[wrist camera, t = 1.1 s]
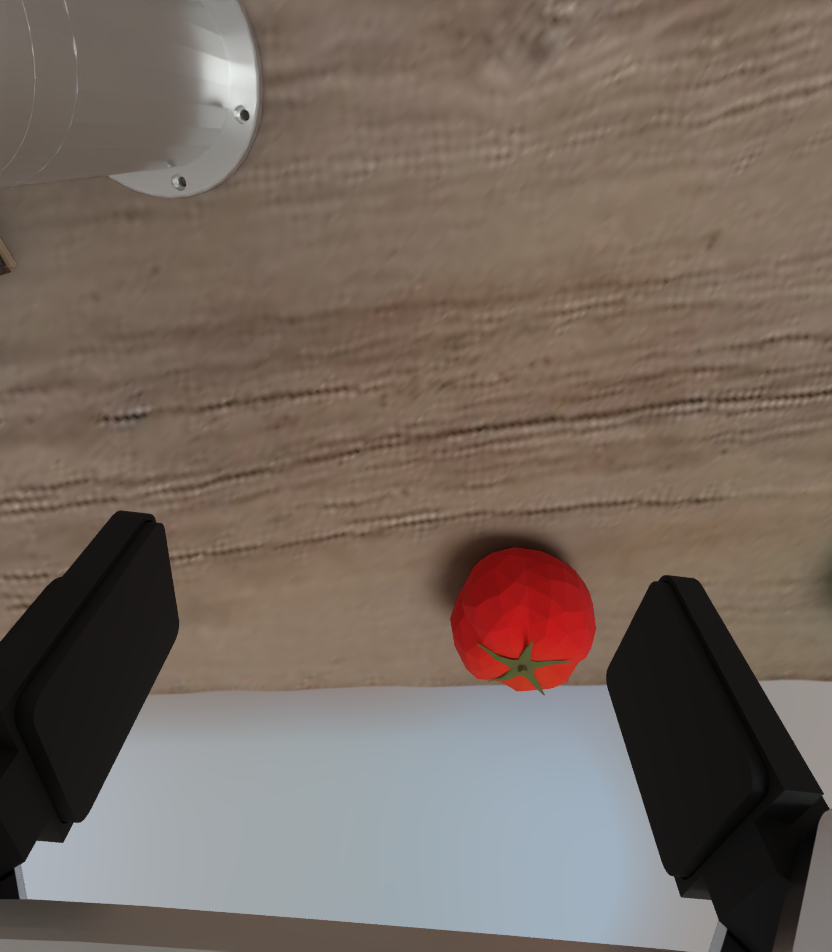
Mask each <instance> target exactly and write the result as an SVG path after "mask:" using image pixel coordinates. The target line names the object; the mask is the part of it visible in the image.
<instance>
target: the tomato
mask: <svg viewBox="0 0 832 952" xmlns="http://www.w3.org/2000/svg"><path fill="white" fill-rule="evenodd" d="M450 620H451V626H452V632H453V639H454V645H455V647H456V649H457V651H458V653H459V655H460V657H461V659H462V661H463V663H464V665H465V667H466V669H467V670H468V671H469V672H470V673H471V674H473V675H474V676H475V677H476V678H477V679H482V680H490V681H500V682H502V683H504V684H505V685H507V686H509V687H511V688H513V689H514V690H516V691H530V690H539V691H540V692H541V693H542V694H543V695H545V694H544V692H543V690H542V689H550V688H554V687H556V686H559V685H561V684H563V683H566V682H567V681H568V679H569V677H570V676H571V674H572V672H573V671H574V669H575V667H576V666H577V664H578V662H580V661H581V660H583V659H585V658H586V657H587V655H588V653H589V651H590V649H591V647H592V643H593V639H594V635H595V631H596V625H595V617H594V610H593V603H592V599H591V596H590V593H589V591H588V589H587V587H586V585H585V583H584V582H583V580H582V579H581V578H580V576H579V575H578V574H577V572H576V571H575V570H574V569H573V568H572V567H571V566H570V565H568V564H566V563H564V562H562V561H561V560H559V559H557V558H555V557H553V556H551V555H548V554H546V553H544V552H542V551H538V550H531V549H524V548H517V547H513V548H509V549H505V550H501V551H497V552H493V553H490V554H489V555H487V556H486V557H484V558H483V559H481V560H480V561H479V562H478V563H477V564H476V565H475V566H474V567H473V569H472V571H471V572H470V574H469V576H468V578H467V580H466V582H465V584H464V586H463V588H462V590H461V591H460V593H459V595H458V597H457V599H456V602H455V606H454V609H453V612H452V615H451V618H450ZM488 682H489V681H488Z"/></svg>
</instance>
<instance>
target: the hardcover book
mask: <svg viewBox="0 0 832 952" xmlns="http://www.w3.org/2000/svg"><path fill="white" fill-rule="evenodd" d="M14 266H16V263H15V262H14V260H13V258H12V257H11V255H10V254H9V252H8V250H7V249H6V247H5V245H4V244H3V242H2V240H1V239H0V275H3V274H6V273H10V272H11V271H10V270H9V268H11V267H14Z"/></svg>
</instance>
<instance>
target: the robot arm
mask: <svg viewBox="0 0 832 952" xmlns="http://www.w3.org/2000/svg"><path fill="white" fill-rule="evenodd" d="M263 92H264V89H263V75H262V63H261V59H260V54H259V50H258V45H257V41H256V36H255V34H254V31H253V29H252V26H251V23H250V21H249V18H248V15H247V13H246V10H245V8H244V6H243V4H242V2H241V1H240V0H0V188H1V187H10V186H19V185H28V184H37V183H46V182H55V181H64V180H73V179H81V178H90V177H99V176H108V177H109V178H110V179H112V180H114V181H116V182H118V183H120V184H121V185H123V186H125V187H127V188H129V189H131V190H134V191H137V192H140V193H143V194H146V195H149V196H157V197H164V198H177V197H189V196H193V195H197V194H201V193H204V192H206V191H208V190H210V189H212V188H214V187H216V186H219V185H220V184H221V183H223V182H224V181H225V180H226V179H228V178H229V177H230V176H231V175H233V174H234V173H235V171H236V170H237V169H238V168H239V166H240V165H241V164H242V162H243V161H244V160H245V159H246V157H247V155H248V153H249V151H250V149H251V147H252V145H253V143H254V141H255V138H256V135H257V131H258V127H259V123H260V120H261V116H262V104H263ZM244 110H247V111H248V112H249V115H250V117H249V120H247V121H246V120H245V119H244V118H243V111H244ZM182 177H184V179H185V181H186V186H184V185H183V184H182V182H181V178H182ZM178 629H179V617H178V611H177V604H176V598H175V592H174V585H173V579H172V572H171V566H170V560H169V553H168V547H167V540H166V534H165V528H164V525H163V524H162V523H156V520H155V517H154V516H153V515H152V514H146V513H138V512H129V511H121V510H120V511H117V512H116V513H115V514H114V515H113V516H112V517H111V518H110V519H109V521H108V522H107V523H106V524H105V525H104V527H103V528H102V529H101V530H100V531H99V533H98V534H97V535H96V536H95V538H94V539H93V540H92V541H91V542H90V544H89V545H88V546H87V547H86V549H85V550H84V551H83V552H82V553H81V555H80V556H79V557H78V558H77V559H76V561H75V562H74V563H73V564H72V566H71V567H70V568H69V569H68V570H67V572H66V573H65V574H64V575H63V577H59V578H57V579H55V580H53V581H52V582H51V583H50V584H49V585H48V586H47V587H46V588H45V589H44V590H43V591H42V593H41V594H40V595H39V596H38V597H37V599H36V600H35V601H34V602H33V603H32V605H31V606H30V607H29V608H28V609H27V610H26V612H25V613H24V614H23V615H22V616H21V618H20V619H19V620H18V621H17V622H16V624H15V625H14V626H13V627H12V628H11V630H10V631H9V632H8V633H7V634H6V636H5V637H4V638H3V639H2V640H1V641H0V952H685V951H675V950H666V949H655V948H644V947H633V946H621V945H610V944H599V943H587V942H576V941H564V940H553V939H542V938H530V937H518V936H508V935H496V934H483V933H472V932H460V931H447V930H436V929H425V928H413V927H400V926H387V925H376V924H364V923H352V922H340V921H328V920H315V919H303V918H290V917H277V916H264V915H252V914H239V913H226V912H213V911H200V910H187V909H175V908H161V907H148V906H134V905H117V904H100V903H83V902H65V901H49V900H32V899H30V900H29V899H27V895H26V890H25V884H24V879H23V874H22V869H21V864H22V863H23V862H25V860H26V859H27V857H28V855H29V853H30V851H31V850H32V848H33V846H34V844H35V842H36V841H48V842H59V843H63V842H64V840H65V838H66V836H67V834H68V832H69V831H70V828H71V827H72V825H73V823H74V822H75V823H79V822H82V821H83V820H84V819H85V818H86V816H87V815H88V813H89V812H90V810H91V808H92V806H93V804H94V802H95V800H96V798H97V796H98V794H99V792H100V790H101V788H102V786H103V784H104V782H105V780H106V778H107V776H108V774H109V772H110V770H111V768H112V765H113V764H114V762H115V760H116V758H117V756H118V754H119V752H120V750H121V748H122V746H123V744H124V742H125V740H126V738H127V736H128V734H129V732H130V730H131V728H132V726H133V724H134V722H135V720H136V718H137V716H138V714H139V712H140V710H141V708H142V706H143V704H144V702H145V700H146V698H147V696H148V694H149V692H150V690H151V688H152V686H153V684H154V682H155V680H156V678H157V676H158V674H159V672H160V670H161V668H162V666H163V664H164V662H165V660H166V658H167V656H168V654H169V652H170V650H171V648H172V646H173V644H174V642H175V640H176V637H177V634H178ZM606 681H607V687H608V691H609V694H610V697H611V700H612V703H613V707H614V710H615V713H616V716H617V720H618V723H619V726H620V729H621V732H622V736H623V739H624V742H625V745H626V748H627V752H628V755H629V758H630V761H631V765H632V768H633V771H634V774H635V777H636V781H637V784H638V787H639V790H640V793H641V796H642V800H643V803H644V806H645V810H646V813H647V816H648V819H649V822H650V826H651V829H652V832H653V835H654V838H655V842H656V845H657V848H658V851H659V855H660V858H661V861H662V863H663V866H664V868H665V870H666V872H667V873H668V874H669V875H670V876H674V878H675V881H676V884H677V887H678V890H679V893H680V896H681V897H684V898H695V899H706V900H712V902H713V905H714V908H715V911H716V914H717V916H718V919H719V921H718V924H717V927H716V930H715V933H714V936H713V939H712V943H711V946H710V949H709V952H832V809H829V807H828V805H827V804H826V802H825V800H824V799H823V797H822V795H823V794H824V793H823V792H822V790H821V788H820V787H819V785H818V783H817V781H816V780H815V778H814V776H813V775H812V773H811V771H810V769H809V768H808V766H807V764H806V763H805V761H804V759H803V758H802V756H801V754H800V752H799V751H798V749H797V747H796V745H795V744H794V742H793V740H792V739H791V737H790V735H789V733H788V732H787V730H786V728H785V727H784V725H783V723H782V721H781V720H780V718H779V716H778V715H777V713H776V711H775V710H774V708H773V706H772V704H771V703H770V701H769V699H768V698H767V696H766V694H765V693H764V691H763V689H762V687H761V686H760V684H759V682H758V681H757V679H756V677H755V675H754V674H753V672H752V670H751V669H750V667H749V665H748V663H747V662H746V660H745V658H744V657H743V655H742V653H741V652H740V650H739V648H738V646H737V645H736V643H735V641H734V640H733V638H732V636H731V634H730V633H729V631H728V629H727V628H726V626H725V624H724V622H723V621H722V619H721V617H720V616H719V614H718V612H717V611H716V609H715V607H714V605H713V604H712V602H711V600H710V599H709V597H708V595H707V593H706V592H705V590H704V588H703V587H702V585H701V584H700V582H699V581H698V580H696V579H694V578H687V577H678V576H670V575H664V576H662V577H661V578H660V579H659V581H658V582H657V581H655V582H652V583H651V584H650V586H649V588H648V590H647V592H646V594H645V596H644V598H643V600H642V602H641V604H640V606H639V608H638V610H637V611H636V613H635V615H634V617H633V619H632V621H631V623H630V625H629V627H628V629H627V631H626V633H625V635H624V637H623V639H622V641H621V643H620V645H619V647H618V649H617V651H616V653H615V655H614V657H613V659H612V661H611V663H610V665H609V667H608V669H607V674H606Z"/></svg>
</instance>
